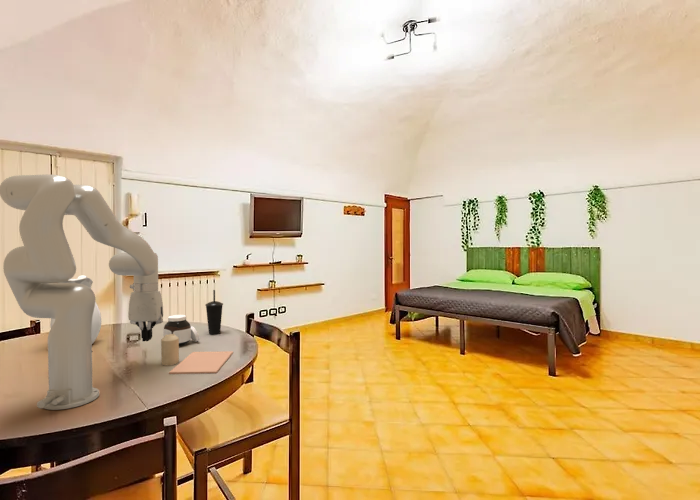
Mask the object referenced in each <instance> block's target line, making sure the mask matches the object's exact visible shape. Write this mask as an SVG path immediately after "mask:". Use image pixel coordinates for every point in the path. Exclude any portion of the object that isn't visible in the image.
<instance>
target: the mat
mask: <svg viewBox="0 0 700 500" xmlns="http://www.w3.org/2000/svg"><path fill="white" fill-rule="evenodd" d="M233 354H234V351H233V350H232V351H230V350H229V351H225V350H223V351H192V352H191V353H189V355H188V356H186V357H184V359H183V360H182V361H179V362H178V363H177V364H176V366H174V367H173V368H172V369H171V370H170V371H168V375H186V374H187V375H190V374H191V375H192V374H194V375H195V374H199V375H200V374H201V375H202V374H205V375H206V374H217V373H218V372H219V371H220V370H221V368H222V367H223V366H224V365H225V364H226V362H227V361H228V360H229V359H230V358H231V357H232V355H233Z"/></svg>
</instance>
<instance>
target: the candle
mask: <svg viewBox="0 0 700 500" xmlns="http://www.w3.org/2000/svg"><path fill="white" fill-rule="evenodd" d="M160 345H161V347H160V348H161V351H160V352H161V357H160V358H161V365H162V366H173V365H178V364H179V363H180V359H179V358H180V356H179V355H180V349H179V348H180V346H179V338H178V337H177V336H176V335H175V334H169V335H165V336H164V335H163V337H162V339H161V340H160Z"/></svg>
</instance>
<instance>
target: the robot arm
mask: <svg viewBox="0 0 700 500" xmlns="http://www.w3.org/2000/svg"><path fill="white" fill-rule="evenodd" d="M0 198H1V200H2V201H3V202H4V203H5V204H6V205H7V206H8V207H10V208H13V209H16V210H20V211H24V212H23V214H22V217H21V219H20V221H19V227H18V229H19V231H18V232H19V235H20V238H21V241H22V245H23V246H22V245H21V246H17V247H15V248H13V249H11V250H10V251H8V253H7V254H6V256H5V257H4V259H3V273H4V277H5V279H6V281H7V284H8V285H9V288H10V290H11V292H12V293H13V296H14V298H15V301H16V302H17V304H18V306H19V308H20V309H21V310H22V312H23V313H24V314H26V315H27V316H29V317H31V318H38V319H51V318H52V319H55V322H54V324H53V326H52V327H51V328H50V329H49V332H48V333H47V334H48V335H47V358H48V359H47V365H48V367H47V369H48V390H46V396H45V397H44V398H42V399H40V400H39V401H37V402H36V407H37V408H38V409H45V410H50V411H56V410H58V411H59V410H66V409H73V408H76V407H80V406H83V405H86V404H89V403H90V402H92V401H95V400H96V399H97V398H99V396H100V389H98V388H97V387H94V386H93V352H92V351H93V345H92V335H91V333H92V317H93V312H94V307H95V301H96V295H95V292H94V290H93V289H92V288H91V289H90V288H89V287H87V286H85V285H82V284H77V283H59V282H64V281H68V280H70V279H73V278H74V276H75V275H76V273H77V264H76V259H75V257H74V254H73V253H72V249H71V247H70V244H69V242H68V238H67V237H66V234H65V230H64V224H63V223H64V217H65V216H74V217H75V218H76V219H77V220H78V221H79V222H80V224H81V225H82V227H83V228H84V229H85V230H86V232H87V234H88V235H89V236H90V237H91V238H92V239H93V240H94V241H96V242H98V243H100V244H103V245H104V246H108V247H112V248H114V249H117V250H120V251H122V252H119V253H116V254H113V255H112V256H111V258H110V260H109V262H108V268H109V270H110V271H111V272H112V273H113V274H115V275H117V276H125V277H126V276H129V277H130V276H133V283H132V284H129V289H132V292H131V293H130V296H129V302H128V310H127V311H128V315H127V317H128V321H129V324H131V325H136V326H137V327H138V328H139V331H141V339H142V342H149V341H150V340H152V339H153V329H154V327H155V326H156V325H159V324H162V323H164V305H163V298H162V293H161V291H160V290H159V256H158V254H157V253H156V252H154V251H153V249H152V247H151V246H150V244H149V243H148V242H147V241H146V240H145V239H144V238H143V237H142V236H141V235H139V234H137V233H136V232H134V230H131V229H129V228H127V227H126V226H124V225H123V224H121V222H120V221H119V219H118V218H117V216H116V215H115V214H114V212H113V210H112V209H111V208H110V206H109V204H108V202H107V201H106V199H105V198H104V197H103V195H102V194H101V192H100V191H99V190H98V189H97V188H95V186H92V185H88V184H73V182H72V181H71V180H70V179H69V178H68V177H66V176H63V175H60V174H59V175H58V174H29V175H28V174H26V175H25V174H23V175H22V174H21V175H19V174H18V175H13V176H12V175H11V176H9V177H7V178H5V179H3V181H1V183H0Z"/></svg>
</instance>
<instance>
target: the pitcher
mask: <svg viewBox="0 0 700 500" xmlns="http://www.w3.org/2000/svg"><path fill="white" fill-rule="evenodd" d="M93 281H94V280H92V279H91V278H90V277H88V276H87V275H85V274H84V275H83V274H82V275H78V276H77V278H71V279H70V280H68V281H64V282H59V283H77V284H82V285H85V286H87V287H89V288H90V289H92V285H93V283H94V282H93ZM54 322H55V319H52V318H50V322H49V323H50V325H49V327H50V329H51V327H52V326H53V324H54ZM101 327H102V314H101V311H100V308H99V306H98V303H97V302H96V300H95V307H94V312H93V317H92V333H91V335H92V344H94V342H95V341H96V340H97V338H98V336H99V334H100V331H101Z"/></svg>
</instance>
